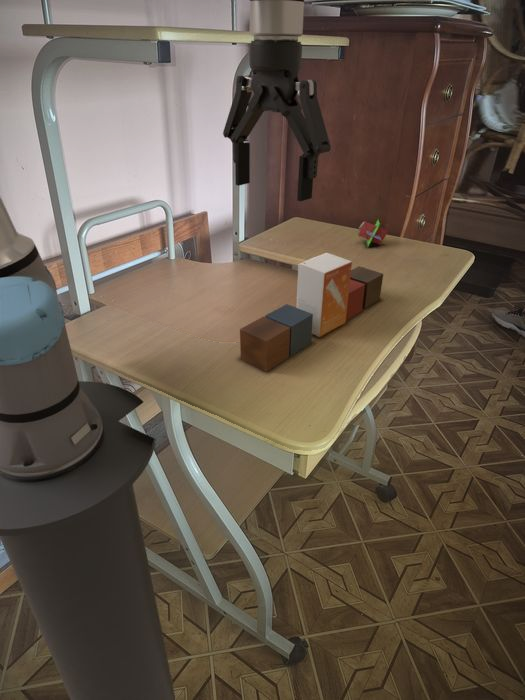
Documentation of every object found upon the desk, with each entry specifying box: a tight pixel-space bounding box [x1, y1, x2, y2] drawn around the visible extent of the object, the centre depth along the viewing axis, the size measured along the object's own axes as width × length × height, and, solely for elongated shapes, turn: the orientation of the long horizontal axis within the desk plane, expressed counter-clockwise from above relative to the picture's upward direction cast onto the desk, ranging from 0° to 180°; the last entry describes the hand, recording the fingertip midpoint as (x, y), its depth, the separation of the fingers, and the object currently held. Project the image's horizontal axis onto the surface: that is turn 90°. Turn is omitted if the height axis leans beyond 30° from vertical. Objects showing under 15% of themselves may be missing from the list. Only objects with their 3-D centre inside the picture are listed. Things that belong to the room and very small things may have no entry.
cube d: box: [350, 265, 384, 310], centre depth 104 cm, size 6×6×6 cm
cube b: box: [264, 303, 313, 357], centre depth 89 cm, size 6×6×6 cm
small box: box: [295, 252, 353, 338], centre depth 93 cm, size 8×6×13 cm
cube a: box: [239, 315, 290, 373], centre depth 85 cm, size 6×6×6 cm
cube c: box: [345, 279, 365, 322], centre depth 100 cm, size 6×6×6 cm
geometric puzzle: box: [357, 218, 389, 247], centre depth 132 cm, size 7×7×8 cm
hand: (272, 191), depth 82 cm, fingers open, 13 cm apart
